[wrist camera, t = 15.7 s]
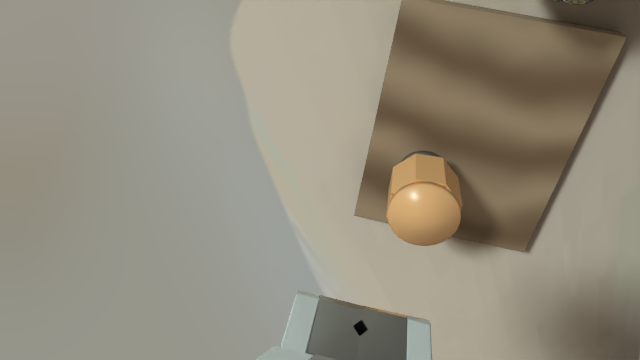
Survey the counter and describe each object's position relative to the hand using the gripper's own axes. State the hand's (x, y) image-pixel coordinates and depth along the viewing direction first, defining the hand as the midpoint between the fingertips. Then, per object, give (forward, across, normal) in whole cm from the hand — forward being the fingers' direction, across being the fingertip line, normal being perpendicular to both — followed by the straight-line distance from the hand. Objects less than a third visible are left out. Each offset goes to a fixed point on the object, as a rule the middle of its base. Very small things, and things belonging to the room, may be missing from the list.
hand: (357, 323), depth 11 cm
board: (+31, -8, +8) cm, 33 cm away
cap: (+28, -5, +12) cm, 31 cm away
